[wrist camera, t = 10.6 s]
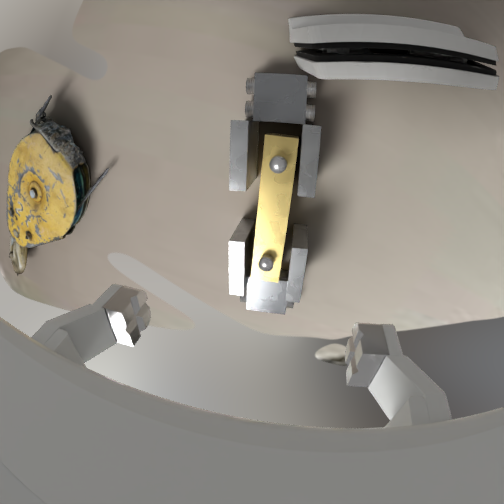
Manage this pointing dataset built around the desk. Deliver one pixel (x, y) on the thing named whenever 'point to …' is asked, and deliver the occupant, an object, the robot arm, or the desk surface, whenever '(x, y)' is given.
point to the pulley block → (45, 188)
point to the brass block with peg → (273, 205)
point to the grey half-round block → (391, 37)
